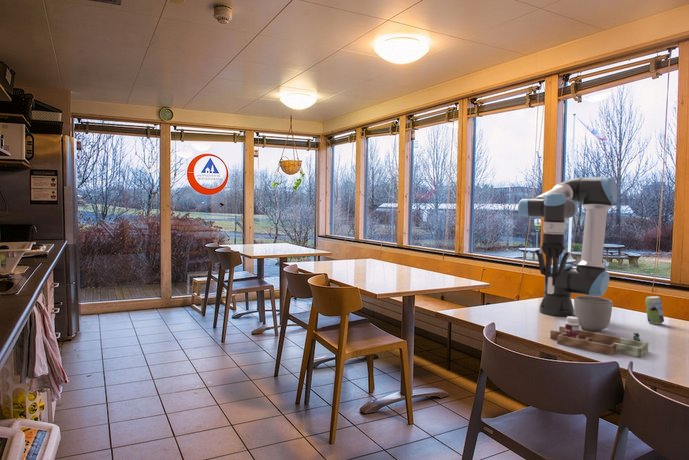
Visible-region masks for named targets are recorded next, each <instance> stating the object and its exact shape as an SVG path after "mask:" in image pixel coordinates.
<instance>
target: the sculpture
mask: <svg viewBox="0 0 689 460" xmlns="http://www.w3.org/2000/svg"><path fill="white" fill-rule="evenodd" d="M633 335H634V336H633V337H632V338H633V340H636V341H641V339H640V333H639V332H635V333H634V332H633Z"/></svg>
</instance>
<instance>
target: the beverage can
mask: <svg viewBox="0 0 689 460" xmlns="http://www.w3.org/2000/svg"><path fill="white" fill-rule="evenodd" d="M644 301H645V309H646V310H645V311H646V317H647V318H646V320H647V322H648V323H649V324H653V325H662V324H663V323H664V322H665V317H664V310H663V308H664V307H663V302H662V298H661V297H660V296H657V295H656V296H653V295H651V296H646V298H645V300H644Z"/></svg>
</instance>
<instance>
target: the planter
mask: <svg viewBox="0 0 689 460" xmlns="http://www.w3.org/2000/svg"><path fill="white" fill-rule="evenodd" d="M573 303H574V304H573V307H574V317H577V318H578V323H579V327H580V328H581V330H583V331H588V332H594V333H601V332H602V331H603V330H604V329H607V328H608V326H609V325H610V322H611V317H612V314H613V313H612V311H613V301H612V300H611V299H609V298H605V297H602V296H599V297H598V296H589V295H576V296H574V300H573Z"/></svg>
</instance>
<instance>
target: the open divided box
mask: <svg viewBox="0 0 689 460" xmlns="http://www.w3.org/2000/svg"><path fill="white" fill-rule="evenodd" d="M566 334H567V333H565V326H563V325H562V326H561V325H560V326H559V328H558V331H557V330H553V329H550V335H549V338H550V339H552V340H557V344H558V345H562V346H568V347H573V348H577V349H582V350H585V351H591V352H596V353H600V354H605V355H610V356H613V355H614V354H615V353H617V354H622V355H626V356H627V355H628V356H632V357H637V358H642V357H643V356H644V355H645V354H647V353H648V352H649V342H646V341H645V342H644V341H641V340H640V341H636V340H634V339H629V338H625V337H620V336H619V337H618V336H616V335H615V336H614V335H608V334H603V333H600V332H598V333H595V332H588V331H584V330H582V329H579V336H578V339H576V338H572V337H567V336H566Z"/></svg>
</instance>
